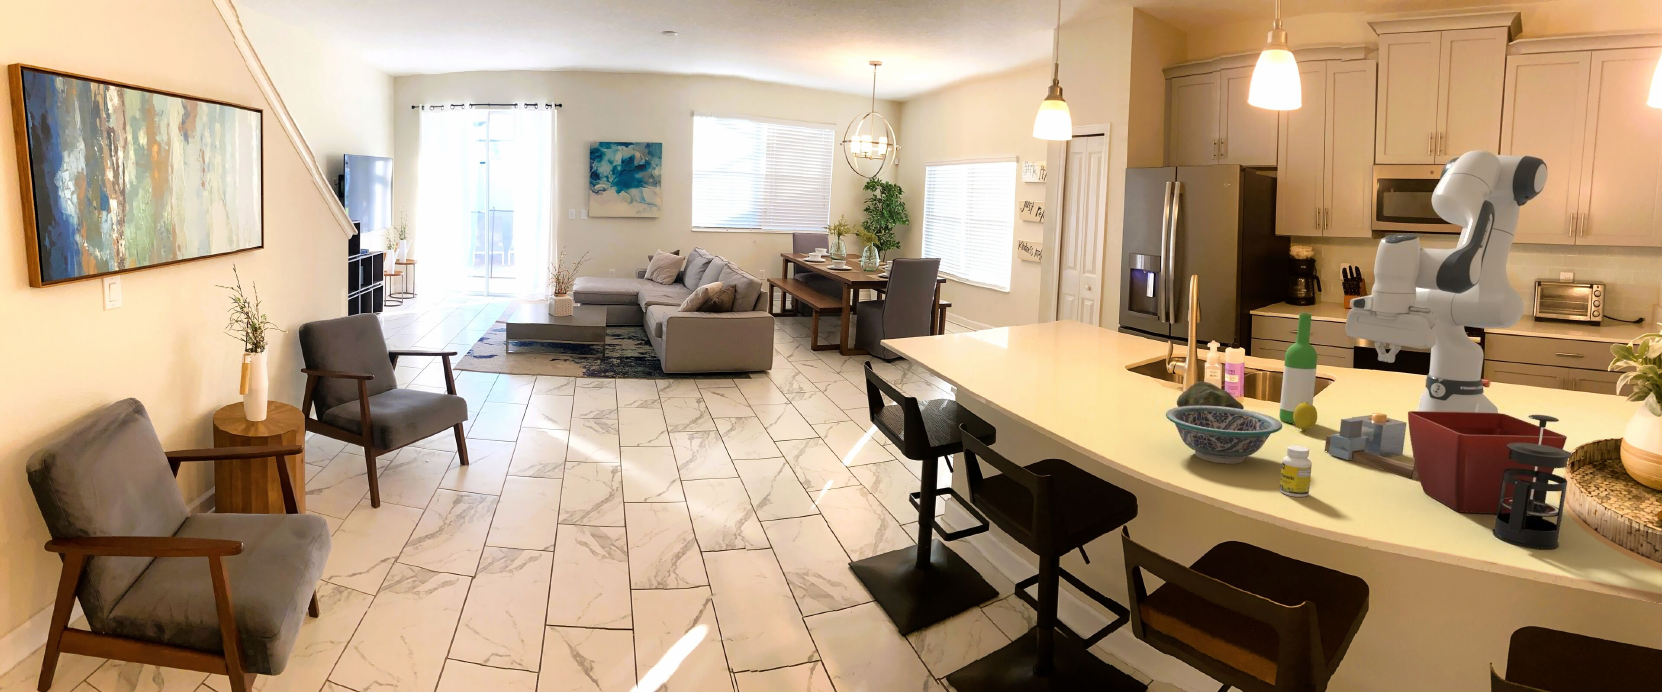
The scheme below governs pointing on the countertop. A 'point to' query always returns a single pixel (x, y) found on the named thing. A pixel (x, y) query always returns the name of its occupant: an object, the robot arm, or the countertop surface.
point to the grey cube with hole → (1384, 436)
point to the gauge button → (1379, 417)
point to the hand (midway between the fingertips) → (1385, 361)
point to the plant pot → (1471, 455)
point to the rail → (1381, 462)
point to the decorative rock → (1207, 396)
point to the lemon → (1305, 416)
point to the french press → (1519, 522)
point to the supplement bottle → (1296, 472)
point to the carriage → (1348, 439)
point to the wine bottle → (1298, 371)
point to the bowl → (1222, 431)
